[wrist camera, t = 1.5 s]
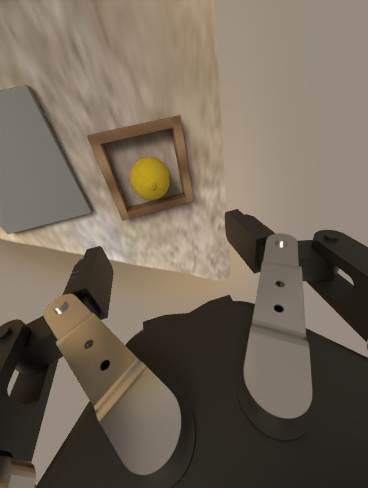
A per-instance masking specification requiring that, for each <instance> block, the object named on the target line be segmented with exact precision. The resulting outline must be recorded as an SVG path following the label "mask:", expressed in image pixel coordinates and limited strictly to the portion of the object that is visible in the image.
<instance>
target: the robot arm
mask: <svg viewBox="0 0 368 488" xmlns="http://www.w3.org/2000/svg"><path fill="white" fill-rule="evenodd" d="M225 229H226V237H227V239H228V241H229V243H230V244H231V245H232V246H233V248H234V249H235V250H236V251H237V253H238V254H239V255H240V256H241V258H242V259H243V260H244V261H245V262H246V264H247V265H248V266H249V268H250V269H251V270H252V271H253V272H254V273H258V272H260V278H259V284H258V290H257V296H256V302H255V304H253V303H249V302H243V301H233V300H232V299H231V297H230V295H228V296H225V297H221V298H218V299H215V300H211V301H209V302H207V303H205V304H203V305H202V306H200V307H198V308H197V309H195V310H193V311H192V312H190V313H185V314H172V315H163V316H160V317H157V318H154V319H151V320H147V321H145V322H143V330H142V331H140V332H139V333H137V334H136V335H135V336H134V337H133V338H132V339H131V340H129V342H128V343H127V344H126V345H124V344H123V343H122V342H121V341H120V340H119V339H118V338H117V337H116V336H115V335H114V334H113V333H112V332H111V330H110V329H109V328H108V327H107V326H106V325H105V324H104V323H103V322H102V321H101V320H102V319H105V318H107V317H108V310H109V303H110V295H111V288H112V281H113V269H112V265H111V264H110V262H109V260H108V258H107V256H106V254H105V252H104V250H103V249H102V247H101V246H98V247H94V248H90V249H87V250H86V253H85V255H84V258H83V259H81V260H80V261H79V262H78V263H77V264H76V265H75V266H74V269H73V271H72V274H71V276H70V279H69V281H68V283H67V286H66V288H65V291H64V293H63V295H62V296H60V297H58V298H56V299H55V300H53V301H52V302H51V303H50V304H49V305H48V306H47V308H46V309H45V311H44V314H43V316H42V317H40V318H38V319H36V320H34V321H32V322H30V323H28V324H27V325H26V324H25V323H23V322H22V321H21V320H12V321H9V322H7V323H5V324H3V325H2V326H0V488H368V358H367V357H365V356H363V355H361V354H359V353H357V352H355V351H353V350H350V349H348V348H346V347H344V346H342V345H340V344H338V343H336V342H334V341H332V340H330V339H327V338H325V337H323V336H321V335H319V334H317V333H315V332H313V331H311V330H309V329H306V328H305V314H304V296H303V281H307V283H308V284H309V285H310V286H311V287H312V288H314V290H315V291H316V292H317V293H318V294H319V295H320V296H321V297H322V298H323V299H324V300H325V301H326V302H327V303H328V304H329V305H330V306H331V307H332V308H333V309H334V310H335V311H336V312H337V313H338V314H339V315H340V316H341V317H342V318H343V319H344V320H345V321H346V322H347V323H348V324H349V325H350V326H351V327H352V328H353V329H354V330H355V331H356V332H357V333H358V334H359V335H360V336H361V337H362V338H363V339H364V340H365V341H366V342H367V349H368V247H366V246H364V245H363V244H361V243H359V242H358V241H356V240H354V239H352V238H351V237H349V236H347V235H345V234H344V233H341V232H338V231H334V230H321V231H318V232H316V233H315V234H314V238H313V240H305V241H297V240H296V239H295V238H294V237H292V236H290V235H287V234H275V233H274V232H273V231H272V230H270V229H269V228H268V227H266V226H265V225H263V224H262V223H261V222H260V221H259V220H257V219H256V218H255V217H253V216H250V215H247V214H246V215H244V214H243V213H241V212H240V211H239V210H238V209H236V210H232V211H228V212H226V213H225ZM339 268H340V269H341V270H342V271H344V272H345V273H346V274H348V275H349V276H350V277H351V278H352V280H353V283H354V286H353V285H352V284H351V283H350V282H348V281H347V280H346V279H344V278H343V277H342V276H341V275H339V274H338V270H339ZM62 356H64V358H65V360H66V361H67V363H68V365H69V366H70V368H71V370H72V371H73V373H74V375H75V376H76V378H77V380H78V381H79V383H80V385H81V387H82V388H83V390H84V392H85V393H86V395H87V396H88V398H89V400H90V402H89V403H88V404H87V406H86V408H85V409H84V411H83V412H82V414H81V416H80V417H79V419H78V421H77V422H76V424H75V425H74V427H73V428H72V430H71V432H70V433H69V435H68V436H67V438H66V440H65V441H64V443H63V445H62V446H61V448H60V449H59V451H58V453H57V454H56V456H55V457H54V459H53V461H52V462H51V464H50V465H49V467H48V468H47V470H46V472H45V473H44V475H43V476H42V478H41V480H40V481H39V483H38V485H36V484H35V479H36V471H35V467H34V465H33V464H32V463H31V461H32V458H33V454H34V450H35V446H36V442H37V439H38V435H39V431H40V427H41V423H42V420H43V416H44V412H45V408H46V404H47V401H48V397H49V393H50V389H51V386H52V382H53V378H54V374H55V370H56V367H57V363H58V359H59V358H61V357H62ZM14 370H17V371H19V374H18V377H17V379H16V382H15V384H14V386H13V389H12V391H11V394H10V396H8V393H7V388H8V384H9V381H10V379H11V377H12V374H13V372H14Z"/></svg>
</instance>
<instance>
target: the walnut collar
mask: <svg viewBox="0 0 368 488" xmlns="http://www.w3.org/2000/svg"><path fill="white" fill-rule="evenodd" d="M170 128H171V131H172V136H173V141H174V147H175V152H176V157H177V163H178V168H179V174H180V179H181V184H182V190H183V193H182V194H178V195H174V196H170V197H167V198H163V199H159V200H155V201H151V202H147V203H143V204H139V205H135V206H132V207H128V208H127V206H126V203H125V201H124V198H123V195H122V193H121V190H120V187H119V185H118V182H117V180H116V177H115V174H114V172H113V169H112V166H111V164H110V161H109V159H108V156H107V153H106V151H105V148H104V146H103V143H107V142H112V141H116V140H121V139H125V138H130V137H134V136H138V135H143V134H147V133H152V132H156V131H161V130H165V129H170ZM87 137H88V139H89V142H90V144H91V147H92V149H93V151H94V154H95V156H96V159H97V161H98V163H99V166H100V168H101V171H102V173H103V175H104V178H105V180H106V183H107V185H108V187H109V190H110V192H111V195H112V197H113V199H114V202H115V204H116V207H117V209H118V211H119V214H120V216H121V219H122V220H126V219H130V218H134V217H138V216H142V215H145V214H149V213H153V212H157V211H161V210H164V209H168V208H172V207H176V206H180V205H183V204H187V203H191V202H194V201H193V194H192V188H191V182H190V175H189V169H188V162H187V156H186V150H185V143H184V137H183V131H182V124H181V118H180V115H179V116H174V117H169V118H165V119H160V120H156V121H151V122H147V123H142V124H138V125H133V126H128V127H124V128H119V129H115V130H110V131H106V132H101V133H97V134H92V135H88V136H87Z"/></svg>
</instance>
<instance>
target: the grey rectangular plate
mask: <svg viewBox="0 0 368 488" xmlns="http://www.w3.org/2000/svg"><path fill="white" fill-rule="evenodd" d="M91 212H92V209H91V207H90V205H89V203H88V201H87V199H86V197H85V195H84V193H83V191H82V189H81V187H80V185H79V183H78V181H77V179H76V177H75V175H74V173H73V171H72V169H71V167H70V165H69V163H68V161H67V159H66V157H65V155H64V153H63V151H62V149H61V147H60V145H59V143H58V141H57V139H56V137H55V135H54V133H53V131H52V129H51V127H50V125H49V123H48V121H47V119H46V117H45V115H44V113H43V111H42V109H41V107H40V105H39V103H38V101H37V99H36V97H35V95H34V93H33V91H32V89H31V87H30V86H27V85H25V86H20V87H15V88H10V89H4V90H0V226H1V227H2V228H3V230H4V231H5V232H6V233H7V234H11V233H15V232H19V231H22V230H26V229H30V228H34V227H38V226H42V225H46V224H50V223H54V222H58V221H62V220H65V219H69V218H73V217H77V216H81V215H85V214H89V213H91Z"/></svg>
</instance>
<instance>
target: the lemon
mask: <svg viewBox="0 0 368 488" xmlns="http://www.w3.org/2000/svg"><path fill="white" fill-rule="evenodd" d="M130 182H131V185H132V188H133V189H134V191H135V192H136V193H137V194H138V195H139V196H140V197H142V198H144V199H147V200H155V199H158V198H160V197H162V196H163V195H164V194H165V193H166V192H167V190H168V187H169V183H170V177H169V173H168V170H167V168H166V167H165V165H164V164H163V163H162V162H161V161H159V160H157V159H155V158H151V157H145V158H142V159H140V160H138V161H137V162H136V163H135V164H134V165H133V167H132V169H131V172H130Z"/></svg>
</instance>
